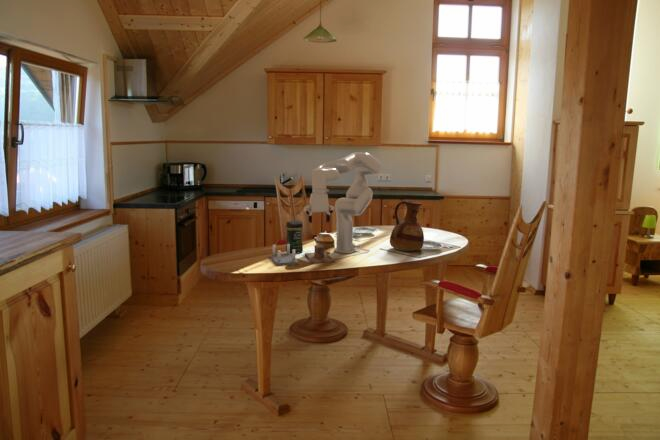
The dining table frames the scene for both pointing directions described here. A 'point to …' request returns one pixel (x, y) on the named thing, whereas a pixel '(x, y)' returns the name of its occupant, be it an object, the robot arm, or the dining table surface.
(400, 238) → the ceramic pitcher
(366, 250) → the dining table surface
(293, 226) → the coffee jar
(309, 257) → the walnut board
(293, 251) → the peg stand
